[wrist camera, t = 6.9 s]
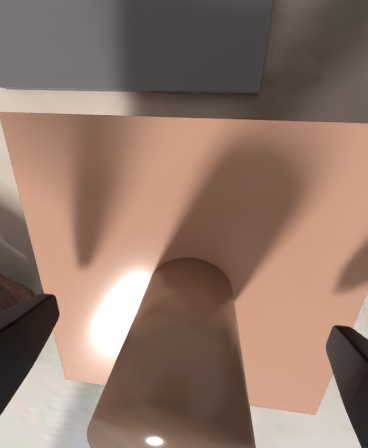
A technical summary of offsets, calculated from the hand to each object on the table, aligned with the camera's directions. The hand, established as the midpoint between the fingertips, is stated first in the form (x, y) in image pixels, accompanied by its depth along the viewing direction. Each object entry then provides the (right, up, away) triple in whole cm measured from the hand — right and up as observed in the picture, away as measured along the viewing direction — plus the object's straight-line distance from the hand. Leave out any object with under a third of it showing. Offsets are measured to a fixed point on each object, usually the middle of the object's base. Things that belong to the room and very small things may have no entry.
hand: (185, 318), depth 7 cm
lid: (0, +1, +2) cm, 2 cm away
